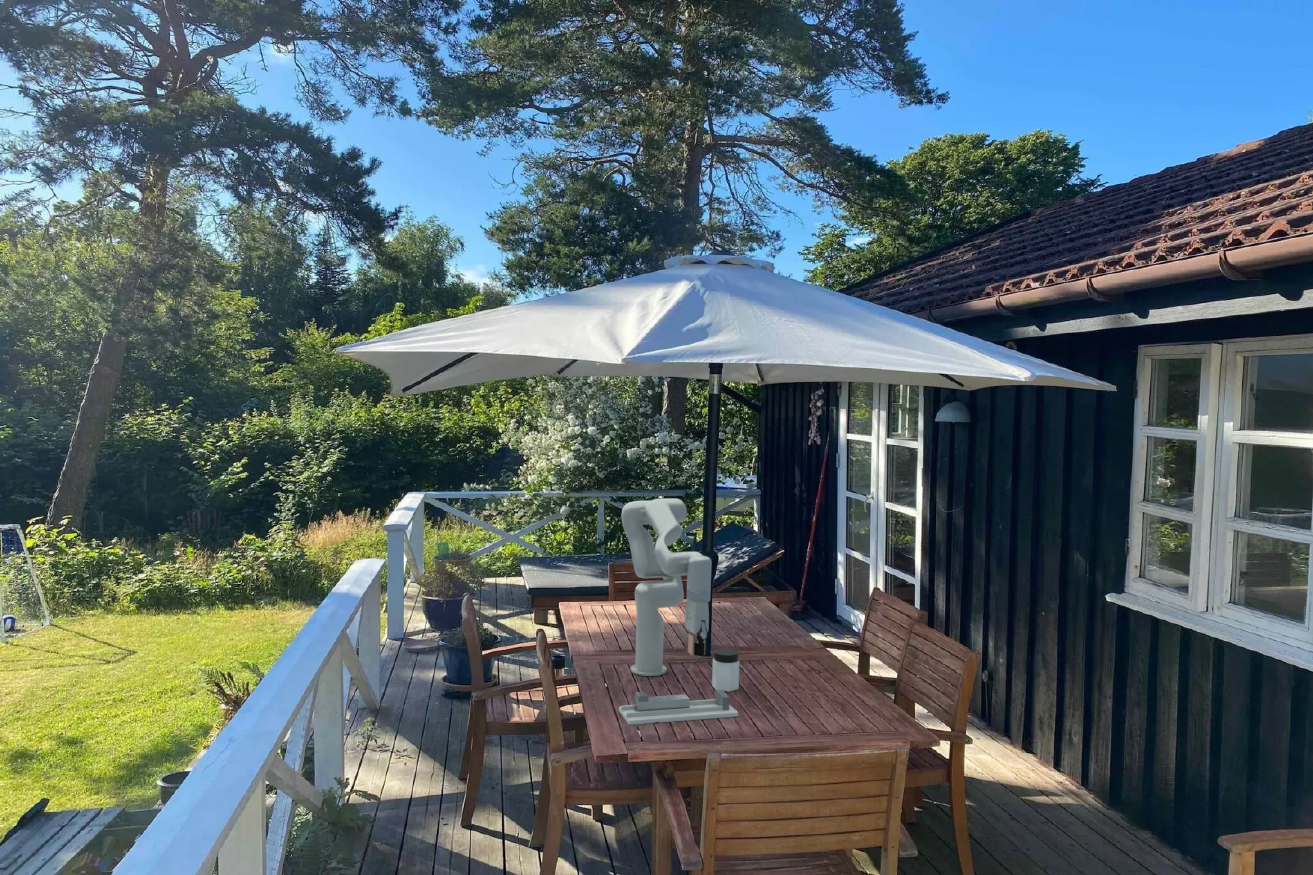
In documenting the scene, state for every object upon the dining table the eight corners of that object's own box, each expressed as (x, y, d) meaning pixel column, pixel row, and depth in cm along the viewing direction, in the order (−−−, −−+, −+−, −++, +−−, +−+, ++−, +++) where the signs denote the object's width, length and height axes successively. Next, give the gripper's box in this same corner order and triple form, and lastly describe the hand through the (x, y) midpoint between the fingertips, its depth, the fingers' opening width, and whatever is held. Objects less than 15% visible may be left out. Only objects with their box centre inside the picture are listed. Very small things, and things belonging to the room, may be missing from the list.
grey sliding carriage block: (634, 709, 257) (635, 692, 257) (685, 706, 262) (685, 689, 262) (638, 714, 253) (638, 696, 253) (689, 710, 258) (689, 693, 258)
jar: (725, 682, 291) (726, 646, 291) (743, 688, 285) (744, 652, 285) (706, 687, 285) (708, 651, 285) (725, 693, 279) (726, 657, 279)
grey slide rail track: (618, 710, 260) (619, 693, 260) (723, 703, 270) (724, 686, 270) (629, 724, 249) (629, 707, 248) (738, 716, 258) (738, 699, 258)
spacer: (687, 651, 273) (688, 633, 273) (700, 651, 274) (701, 632, 274) (692, 655, 269) (693, 636, 269) (704, 655, 270) (705, 636, 270)
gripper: (678, 590, 278) (676, 646, 278) (696, 601, 262) (694, 661, 262) (700, 589, 280) (698, 645, 281) (719, 601, 264) (717, 660, 265)
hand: (696, 652), depth 272 cm, fingers closed on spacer, 4 cm apart
